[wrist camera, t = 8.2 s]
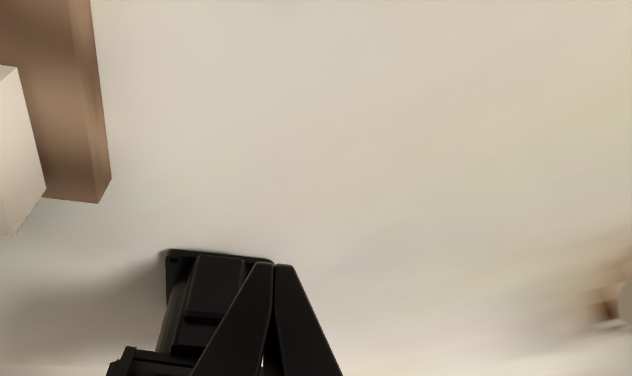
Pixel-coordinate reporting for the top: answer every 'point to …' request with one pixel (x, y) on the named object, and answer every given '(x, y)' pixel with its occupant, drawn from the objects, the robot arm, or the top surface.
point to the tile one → (16, 155)
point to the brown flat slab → (60, 92)
